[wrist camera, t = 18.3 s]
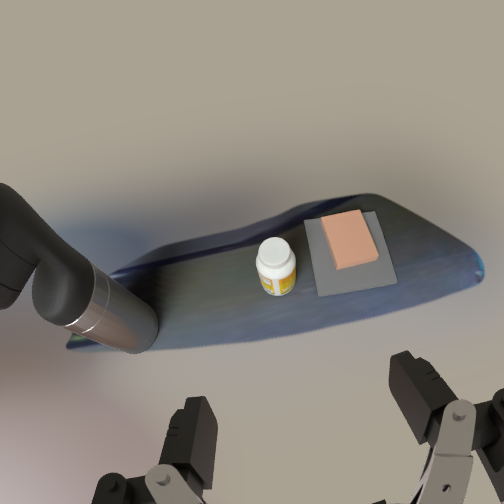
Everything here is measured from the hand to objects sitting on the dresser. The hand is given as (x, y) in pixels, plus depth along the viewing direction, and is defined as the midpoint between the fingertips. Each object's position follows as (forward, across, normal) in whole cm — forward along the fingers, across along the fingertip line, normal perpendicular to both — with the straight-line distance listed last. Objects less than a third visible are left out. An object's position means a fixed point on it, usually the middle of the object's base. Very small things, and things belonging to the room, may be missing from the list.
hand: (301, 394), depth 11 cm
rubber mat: (+34, -13, +6) cm, 37 cm away
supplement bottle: (+33, -1, +8) cm, 34 cm away
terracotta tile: (+31, -13, +8) cm, 34 cm away
